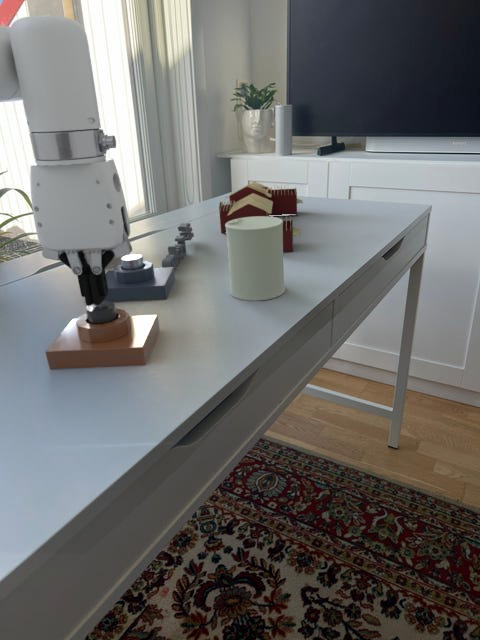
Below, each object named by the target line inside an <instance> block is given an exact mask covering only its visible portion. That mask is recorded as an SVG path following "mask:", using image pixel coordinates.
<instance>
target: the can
mask: <svg viewBox="0 0 480 640" xmlns="http://www.w3.org/2000/svg"><path fill="white" fill-rule="evenodd" d="M282 219H283V218H281V217H269V216H253V217H243V218H238V219H234V220H231V221H228V222H227V223H226V224H225V226H226V243H227V256H228V270H229V271H228V272H229V287H230V288H229V294H230V296H232V297H233V298H235V299H237V300H240V301H248V302H259V301H269V300H272V299H276V298H278V297H280V296H282V295H283V294H284V293H285V291H286V287H285V270H284V252H283V221H284V219H283V220H282Z"/></svg>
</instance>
